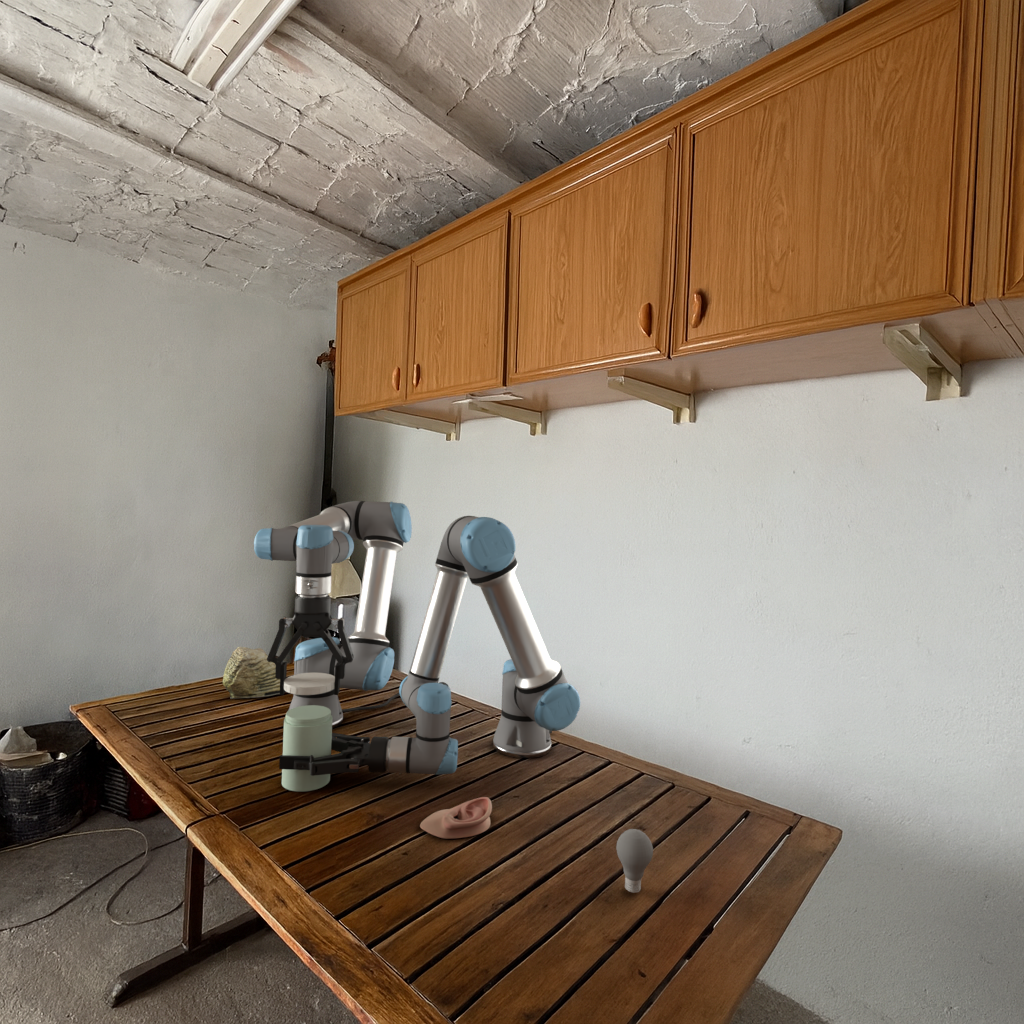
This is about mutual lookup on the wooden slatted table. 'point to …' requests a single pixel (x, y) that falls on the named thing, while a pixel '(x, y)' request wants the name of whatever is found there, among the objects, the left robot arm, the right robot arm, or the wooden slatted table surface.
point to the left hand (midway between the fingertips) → (310, 693)
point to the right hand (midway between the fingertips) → (288, 751)
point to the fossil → (250, 674)
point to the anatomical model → (460, 820)
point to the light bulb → (634, 857)
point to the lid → (309, 683)
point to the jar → (306, 744)
